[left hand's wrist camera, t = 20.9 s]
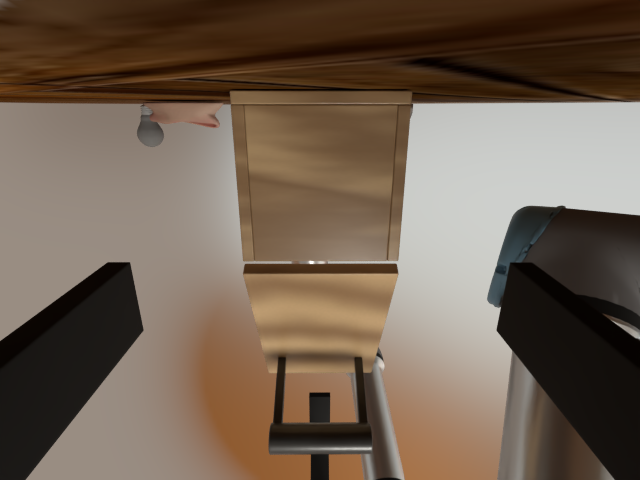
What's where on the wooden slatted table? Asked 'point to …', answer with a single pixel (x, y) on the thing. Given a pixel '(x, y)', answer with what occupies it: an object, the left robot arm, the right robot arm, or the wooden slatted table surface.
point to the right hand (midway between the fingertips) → (319, 439)
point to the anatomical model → (185, 112)
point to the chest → (320, 173)
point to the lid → (320, 340)
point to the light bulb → (149, 129)
